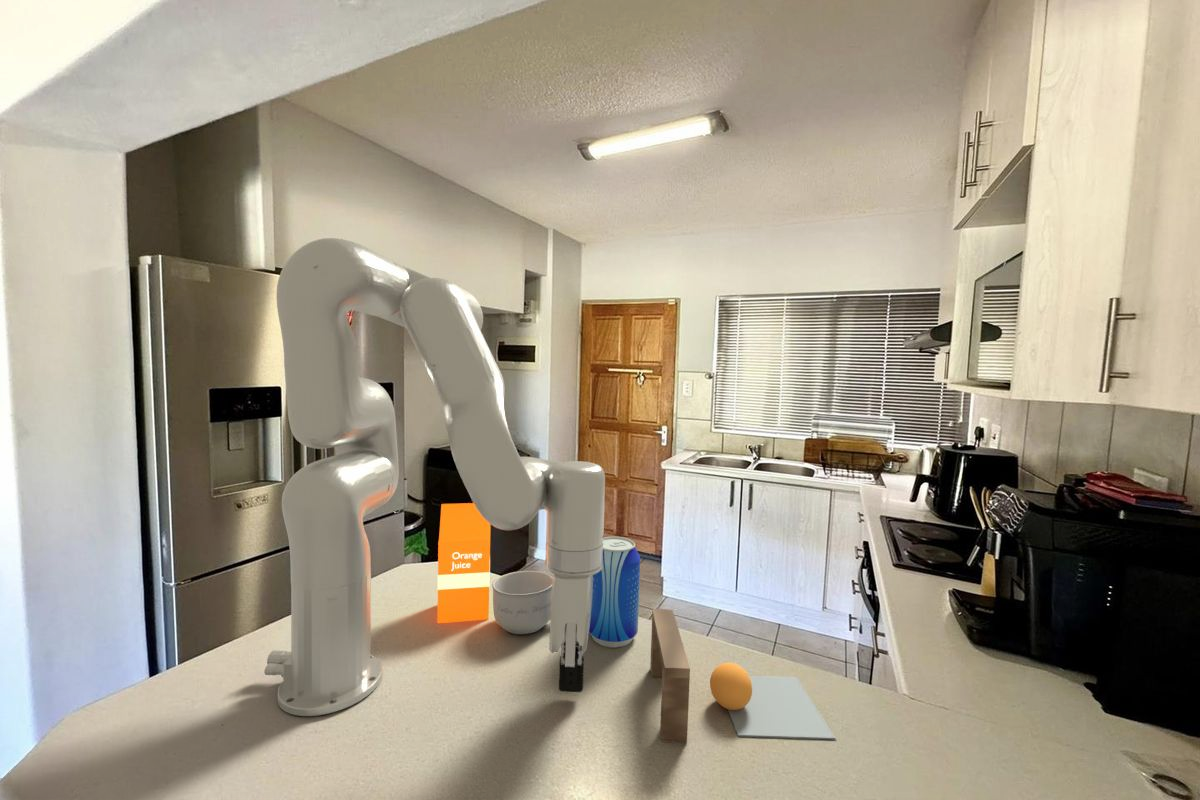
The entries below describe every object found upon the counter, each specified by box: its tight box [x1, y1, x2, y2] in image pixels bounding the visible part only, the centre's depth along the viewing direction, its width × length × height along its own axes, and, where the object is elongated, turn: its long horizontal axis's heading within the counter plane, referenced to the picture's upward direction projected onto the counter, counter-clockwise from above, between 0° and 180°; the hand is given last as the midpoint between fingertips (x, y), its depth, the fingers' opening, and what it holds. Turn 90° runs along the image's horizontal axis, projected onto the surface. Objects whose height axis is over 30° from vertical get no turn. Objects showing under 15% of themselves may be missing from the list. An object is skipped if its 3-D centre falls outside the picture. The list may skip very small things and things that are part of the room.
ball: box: [709, 662, 752, 710], centre depth 65 cm, size 6×6×6 cm
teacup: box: [491, 570, 553, 635], centre depth 84 cm, size 14×11×8 cm
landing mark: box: [727, 674, 837, 740], centre depth 66 cm, size 12×12×1 cm
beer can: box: [589, 536, 641, 648], centre depth 81 cm, size 8×8×16 cm
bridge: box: [650, 608, 691, 743], centre depth 65 cm, size 3×14×9 cm, turn 0°
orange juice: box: [437, 502, 491, 624], centre depth 88 cm, size 8×9×20 cm
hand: (571, 687), depth 66 cm, fingers closed
